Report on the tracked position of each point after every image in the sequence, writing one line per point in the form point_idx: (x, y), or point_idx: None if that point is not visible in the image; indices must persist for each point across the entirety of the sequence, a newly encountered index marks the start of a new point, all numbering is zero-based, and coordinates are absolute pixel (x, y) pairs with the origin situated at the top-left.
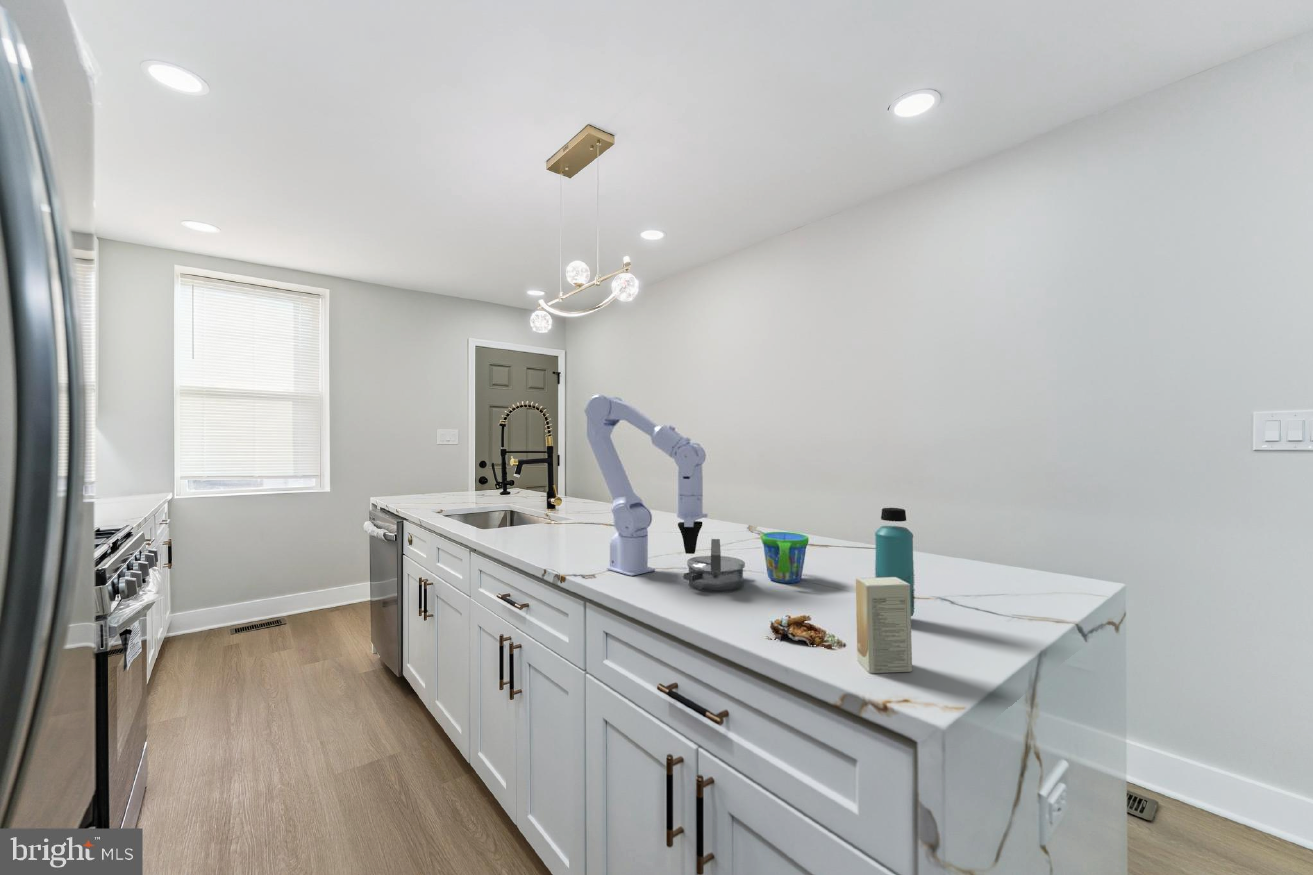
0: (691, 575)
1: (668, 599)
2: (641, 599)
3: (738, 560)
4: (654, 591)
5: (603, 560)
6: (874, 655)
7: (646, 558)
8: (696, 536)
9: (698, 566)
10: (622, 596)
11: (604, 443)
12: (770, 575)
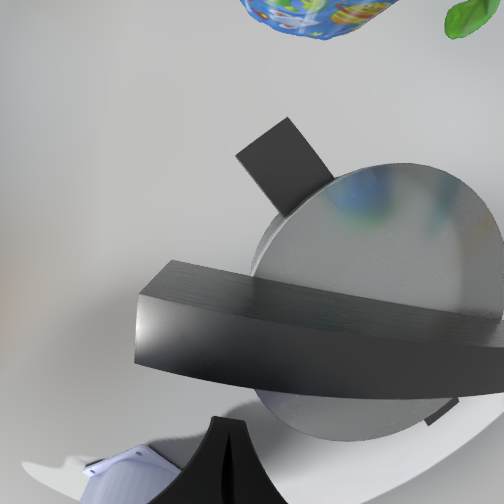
0: (456, 403)
1: (444, 417)
2: (420, 459)
3: (399, 188)
4: (375, 451)
5: (62, 489)
6: None
7: (155, 494)
8: (280, 498)
9: (448, 399)
10: (386, 488)
11: None
12: (335, 34)
